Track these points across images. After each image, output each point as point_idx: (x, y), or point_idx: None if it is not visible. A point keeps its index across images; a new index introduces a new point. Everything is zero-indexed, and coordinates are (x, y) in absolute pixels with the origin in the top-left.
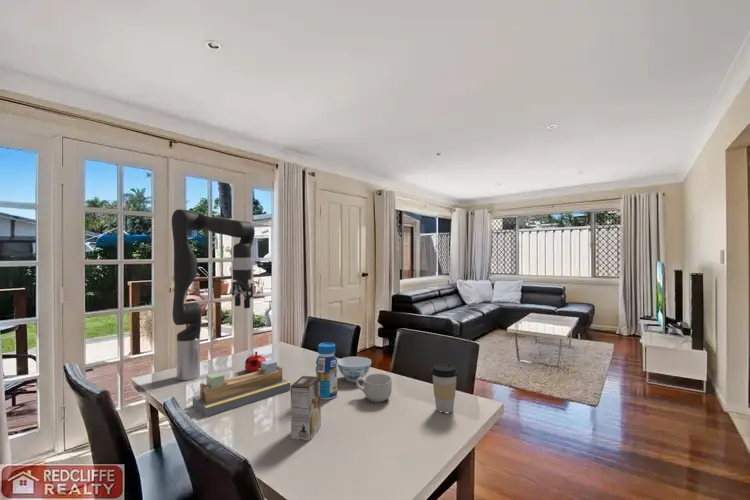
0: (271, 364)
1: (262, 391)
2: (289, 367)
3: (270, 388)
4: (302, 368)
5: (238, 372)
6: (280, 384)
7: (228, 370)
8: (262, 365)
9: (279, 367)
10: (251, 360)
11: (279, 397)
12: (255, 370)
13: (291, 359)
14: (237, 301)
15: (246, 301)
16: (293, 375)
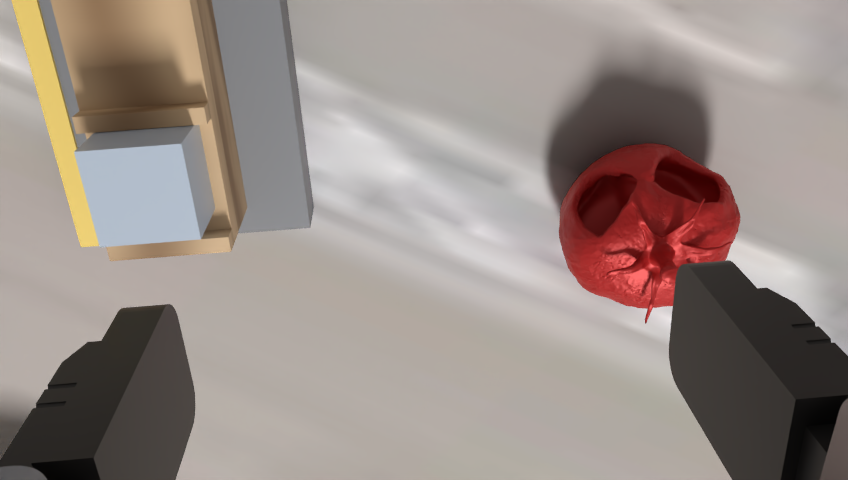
0: (90, 194)
1: (21, 25)
2: (515, 395)
3: (38, 92)
4: (435, 441)
5: (699, 99)
6: (72, 177)
7: (808, 57)
8: (158, 138)
9: (129, 248)
10: (629, 201)
11: (9, 115)
12: (570, 188)
13: (657, 468)
14: (727, 371)
15: (8, 447)
16: (348, 349)
